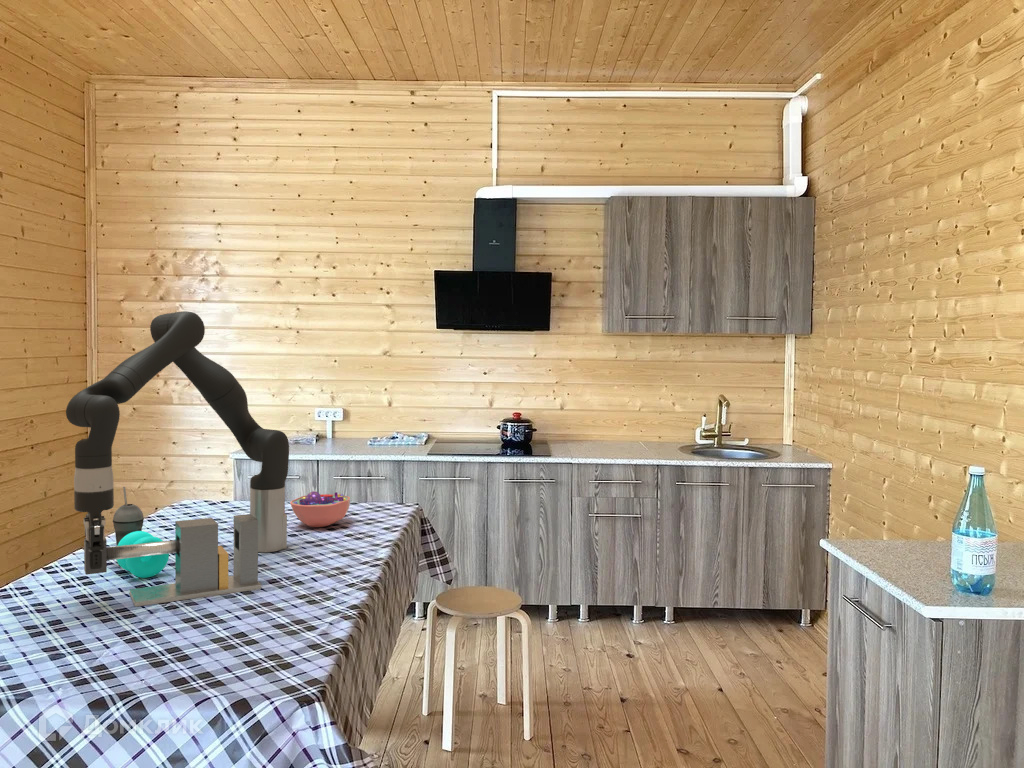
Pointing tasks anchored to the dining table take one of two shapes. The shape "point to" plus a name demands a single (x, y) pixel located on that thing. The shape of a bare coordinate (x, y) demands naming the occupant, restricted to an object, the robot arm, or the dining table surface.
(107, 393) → the robot arm
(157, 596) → the pillow blocks
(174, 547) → the shaft
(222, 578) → the spacer
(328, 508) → the cell model
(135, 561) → the donuts
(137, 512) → the beverage cup
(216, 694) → the dining table surface
